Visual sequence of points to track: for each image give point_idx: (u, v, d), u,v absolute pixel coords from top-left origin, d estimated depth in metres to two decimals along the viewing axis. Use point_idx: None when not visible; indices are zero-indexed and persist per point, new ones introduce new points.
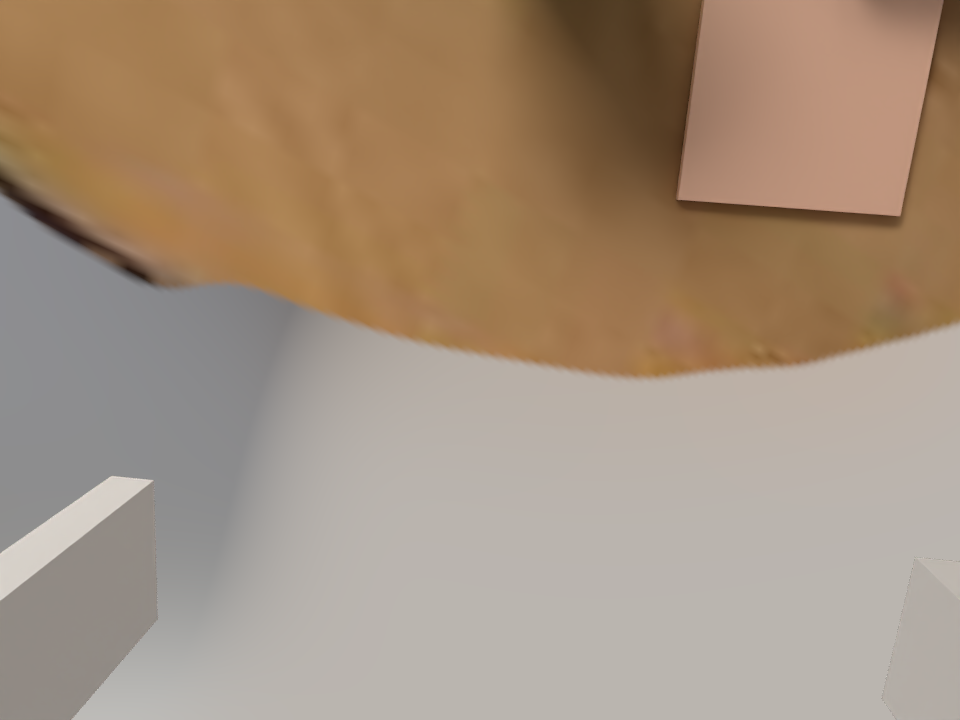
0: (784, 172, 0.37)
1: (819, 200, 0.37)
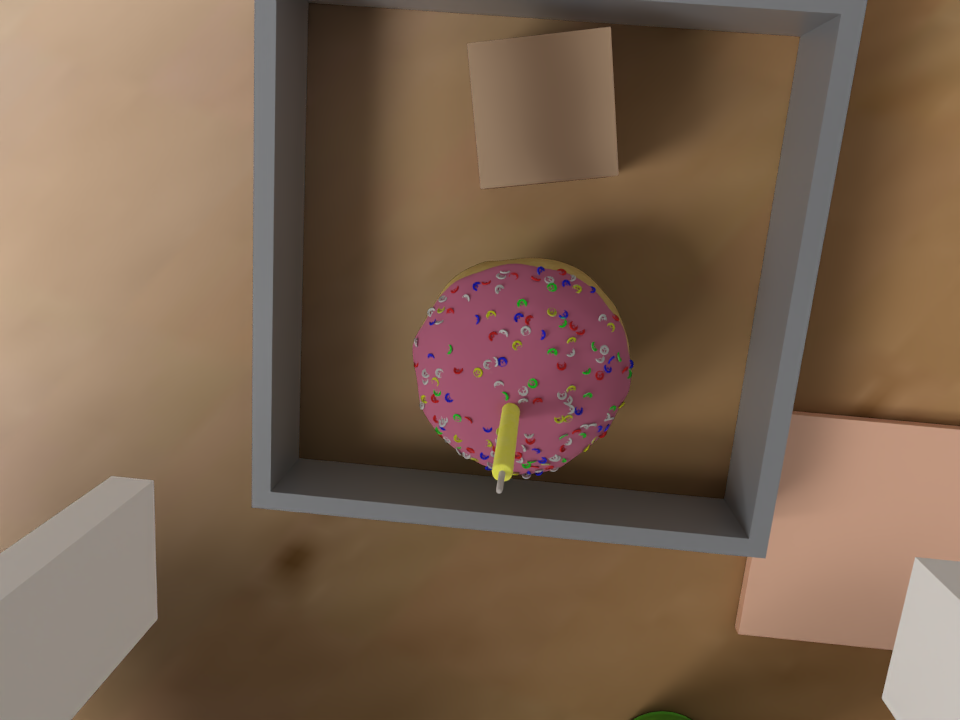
0: None
1: None
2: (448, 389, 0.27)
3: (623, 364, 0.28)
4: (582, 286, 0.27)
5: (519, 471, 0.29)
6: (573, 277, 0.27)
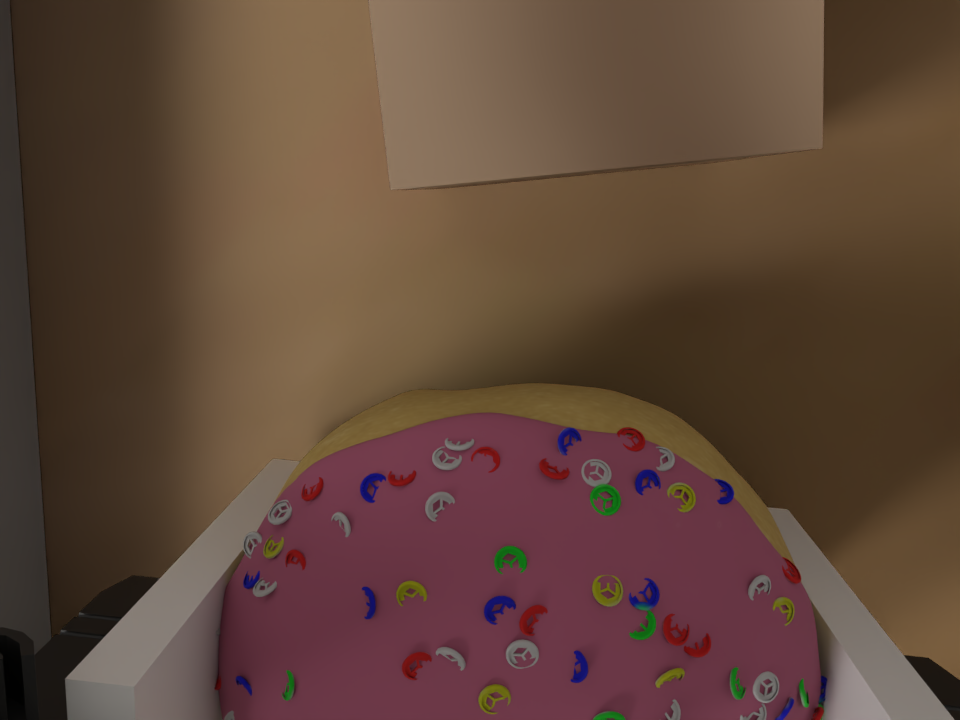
0: None
1: None
2: None
3: None
4: (695, 485, 0.09)
5: None
6: (666, 455, 0.09)
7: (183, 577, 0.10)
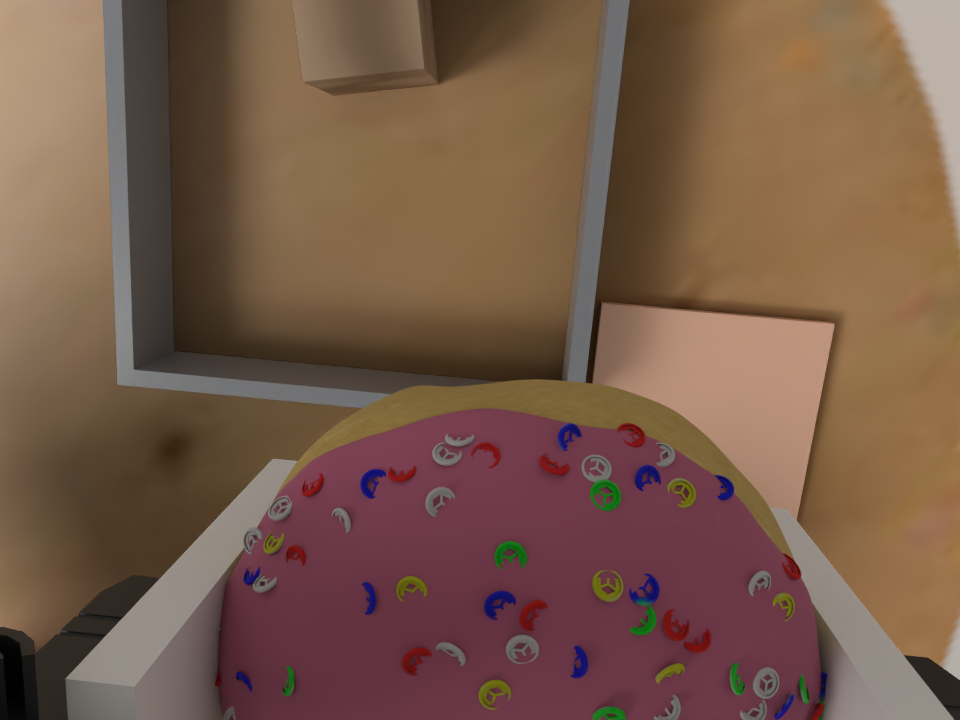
0: (776, 439, 0.37)
1: (809, 404, 0.36)
2: None
3: None
4: (695, 481, 0.09)
5: None
6: (665, 451, 0.09)
7: (183, 577, 0.10)
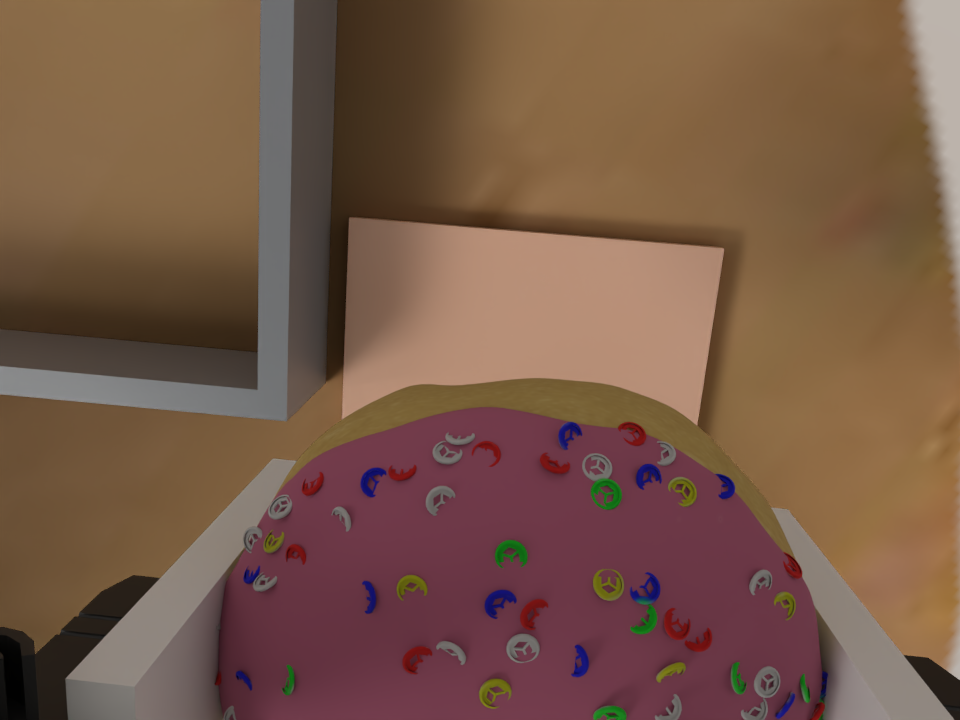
0: None
1: (688, 381, 0.22)
2: None
3: (808, 693, 0.10)
4: (696, 480, 0.09)
5: None
6: (666, 449, 0.09)
7: (183, 577, 0.10)
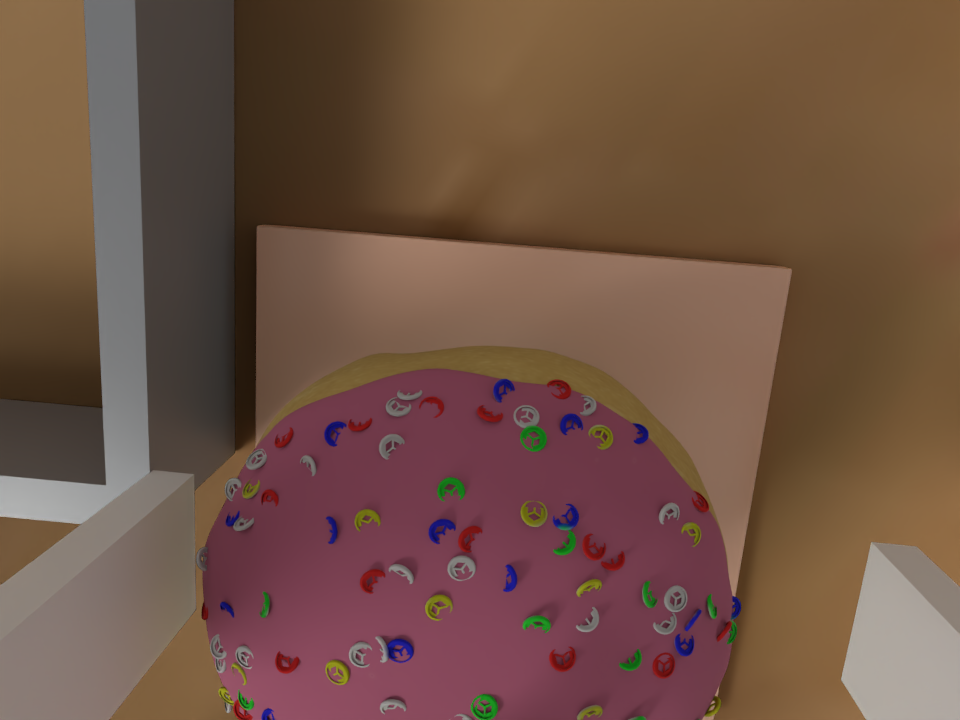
0: None
1: (737, 455, 0.16)
2: (269, 700, 0.10)
3: (718, 615, 0.11)
4: (614, 428, 0.10)
5: None
6: (589, 402, 0.11)
7: None
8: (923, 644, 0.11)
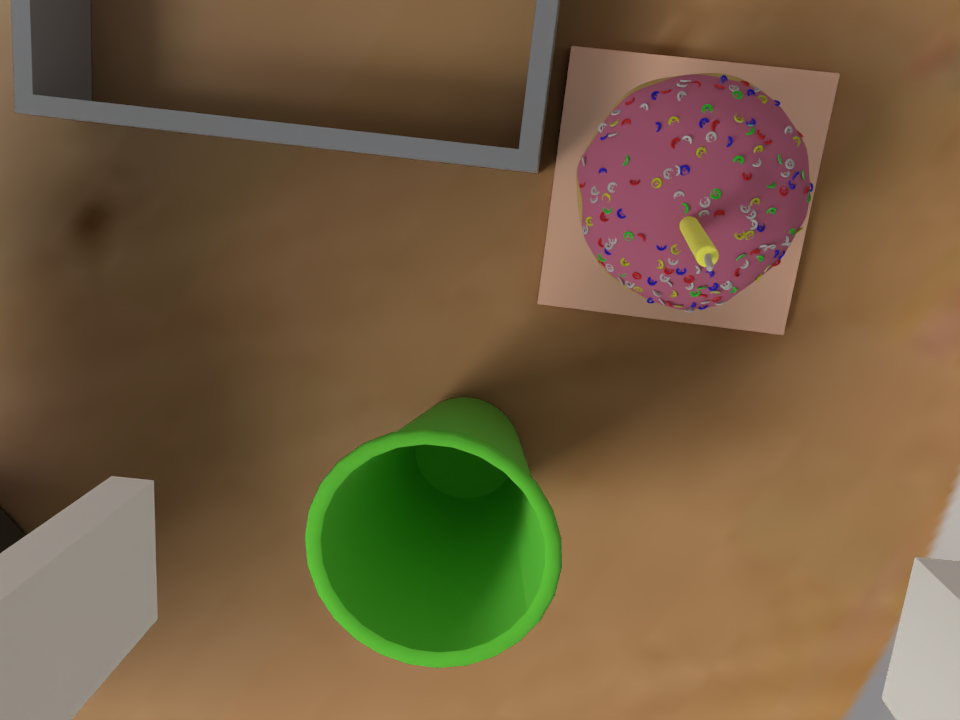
0: None
1: None
2: (621, 204, 0.26)
3: (804, 185, 0.26)
4: (767, 98, 0.26)
5: (683, 303, 0.28)
6: (756, 89, 0.26)
7: None
8: None
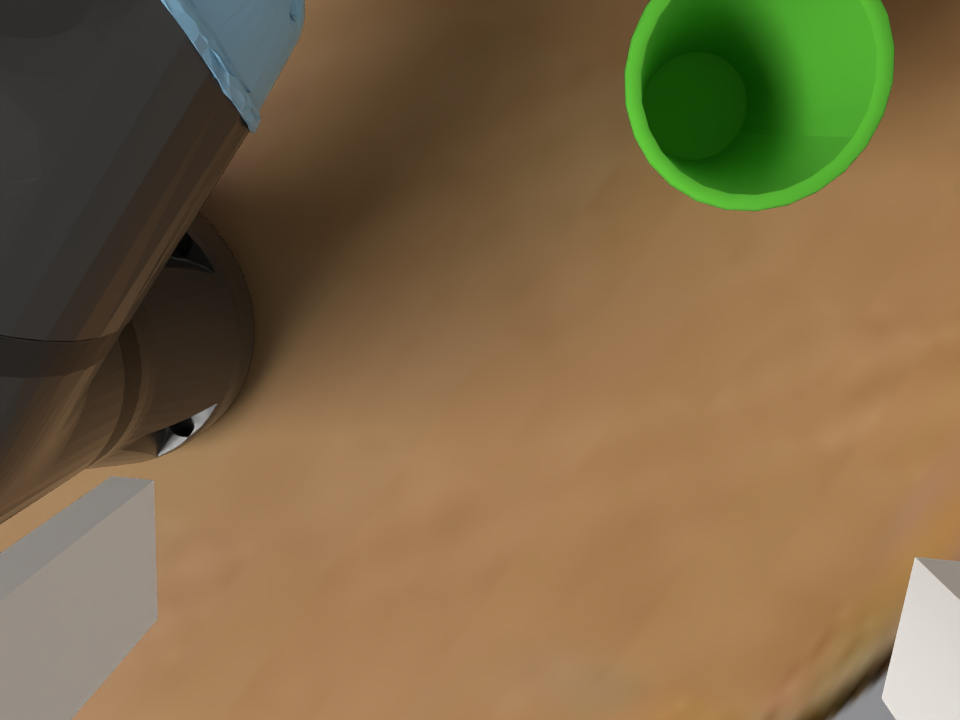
0: None
1: None
2: None
3: None
4: None
5: None
6: None
7: None
8: None
